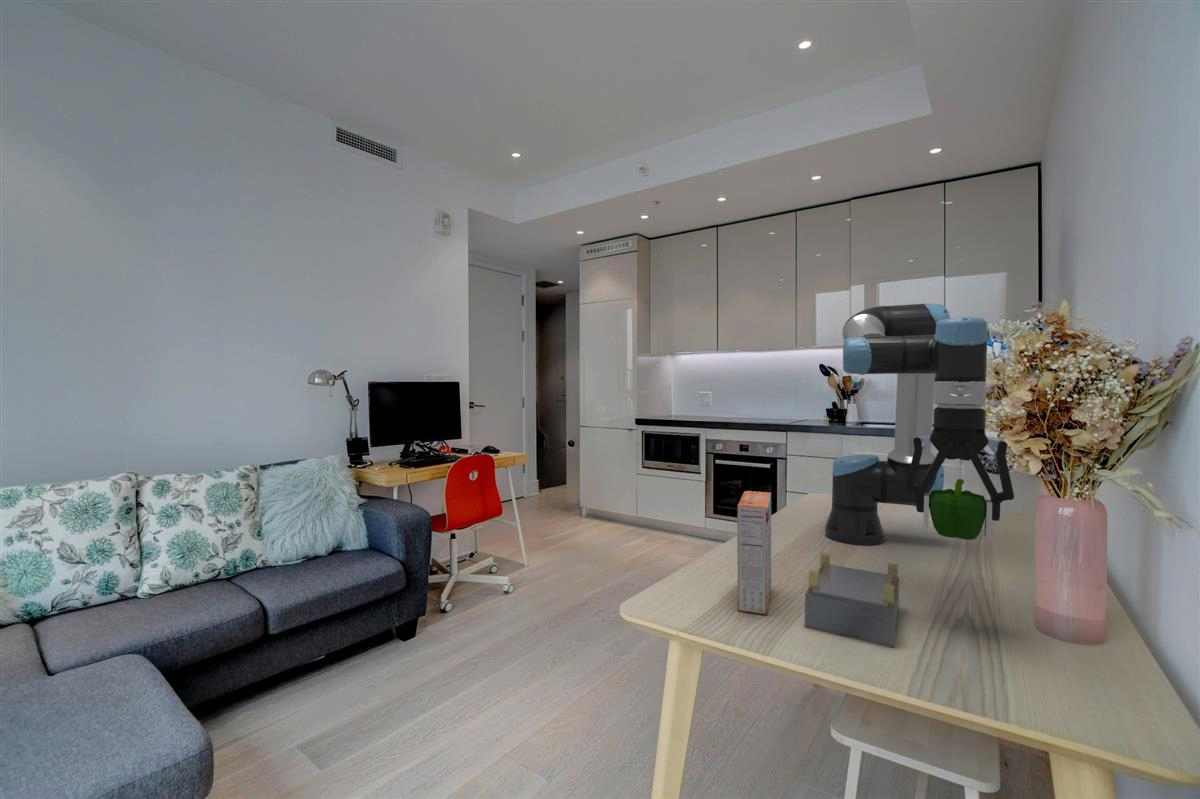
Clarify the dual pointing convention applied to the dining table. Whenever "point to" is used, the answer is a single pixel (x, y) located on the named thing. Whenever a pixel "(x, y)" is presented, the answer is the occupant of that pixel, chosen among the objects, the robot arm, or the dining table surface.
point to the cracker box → (754, 552)
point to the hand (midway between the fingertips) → (955, 534)
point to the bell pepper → (957, 512)
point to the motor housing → (853, 602)
